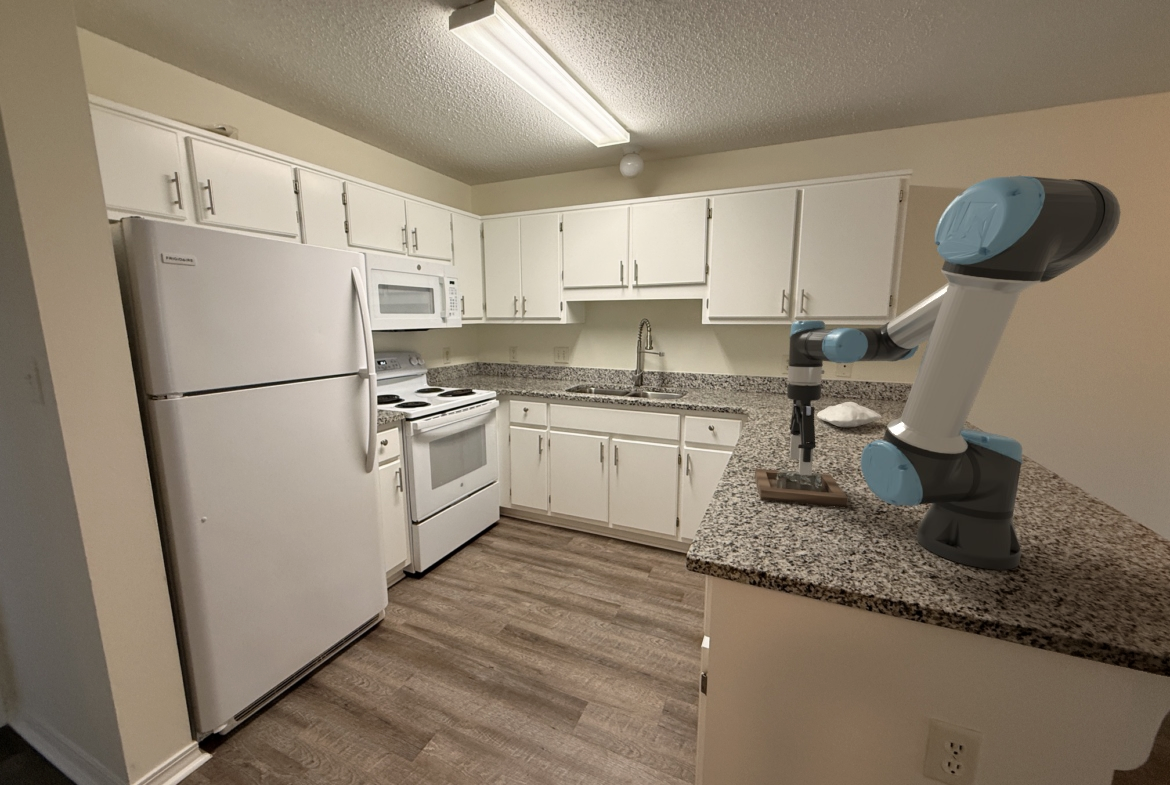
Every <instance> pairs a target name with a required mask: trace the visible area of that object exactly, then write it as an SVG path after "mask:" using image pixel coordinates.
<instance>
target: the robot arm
mask: <svg viewBox="0 0 1170 785" xmlns="http://www.w3.org/2000/svg"><path fill="white" fill-rule="evenodd" d="M1120 218H1121V205H1120V203H1119V200H1118V197H1117V196H1116V195H1115V194H1114V193H1113V191H1112V190H1110V189H1109V188H1107V186H1105V185H1103V184H1101V183H1099V182H1096V181H1091V180H1088V179H1079V178H1077V179H1076V178H1075V179H1073V178H1070V179H1066V178H1065V179H1063V178H1052V177H1043V176H1041V177H1038V176H1031V175H1030V176H1029V175H1028V176H1026V175H1016V176H1014V175H1013V176H998V177H997V176H996V177H991V178H988V179H987V178H986V179H984V180H981V181H978V182H976V183H974V184H973V185H971V186H969V187H968V188H967V189H966V190H964V191H963V192H961V193H960V194H958V195H956V197H955V198H954V199H953V200H952V201H951V202H949V204H948V205H947V207H946V208H945V210H944V211H943V212H942V214H941V216H940V218H939V220H938V221H937V225H936V228H935V232H934V244H935V245H937V248H936V250H937V253H938V254H939V256H940V257H942V258H943V259H944V263H943V265H942V268H941V271H940V272H941V274H942V275H943V276H944V278H945V279H946V280H947V282H946V283H945V284H944V285H943V286H941V287H939V288H938V289H936V290H934V292H931V294H929V295H927V296H926V297H925V298H923V299H921V300H920V301H918V302H917V303H915V304H914V305H912V306H911V307H910V308H908V309H906V310H905V311H903V312H901V314H900V315H898V316H896V317H895V318H893V319H891V320H890V321H888V322H886V323H885V324H884V325H881V326H879V327H862V328H861V327H852V328H851V327H838V328H837V327H833V328H826V323H825V321H823V320H819V319H817V320H795V321H793V322H792V324H791V325H790V326H791V327H790V335H789V337H788V338H789V348H788V349H789V353H788V357H789V358H788V362H789V363H788V368H787V369H788V370H787V381H788V382H789V383H788V385H787V394H786V395H787V398H788V399H790V400H792V410H791V411H792V412H791V418H790V424H789V431H790V434H791V435H790V445H789V446H790V447H789V448H790V449H789V460H797V461H798V462H799V463H798V472H799V474H800V475H812V473H813V472H812V470H813V456H814V455H813V454H814V449H815V448H816V446H817V445H816V427H815V411H816V409H815V406H812V403H811V402H813V401H819V400H821V396H822V386H821V384H820V383H821V382H822V377H823V376H822V375H824V374H825V372H826V371H825V370H824V369H823V364H824V363H823V362H830V363H836V364H851V363H855V362H898V361H905V360H908V359H911V358H912V357H913V356H914V355H915V353H916V352H917V351H918V349H919V346H920V345H921V344H924V343H925V342H927V343H926V347H925V349H924V352H923V356H922V359H921V361H920V364H919V367H918V369H917V373H916V375H915V378H914V380H913V383H912V385H911V386H912V387H911V388H910V392H909V394H908V397H907V400H906V402H905V406H904V408H903V411H902V413H901V417H899V418H895V419H893V420H890V422H888V423H887V426H886V429H885V431H884V435H883V437H882V440H881V439H876V440H873V441H872V442H870V443H868V444H866V445H865V447H864V448H863V450H862V452H861V456H860V467H861V473H862V476H863V477H864V481H865V483H866V485H867V486H868V488H869V489H870V491H871V492H872V493H873V495H875V496H876V498H878V499H879V500H881V501H883V502H884V503H886V504H889V505H893V506H908V507H914V506H918V505H926V504H927V505H928V504H930V506H929V508H928V509H927V511H926V513H925V515H924V516H923V518H922V520H921V522H920V523H919V524H918V527H917V534H916V539H917V542H918V543H919V544H920V546H922V547H924V548H925V549H926V550H928V551H929V552H932V553H933V554H935V555H938V556H939V557H942V558H945V559H947V560H949V561H952V562H955V563H959V564H962V565H966V566H971V567H974V568H980V569H986V570H987V569H988V570H998V571H999V570H1002V571H1003V570H1005V571H1006V570H1011V569H1015V568H1017V567H1019V565H1020V562H1021V557H1022V549H1021V546H1020V542H1019V540H1018V539H1019V538H1018V535H1017V533H1016V532H1017V531H1016V527H1015V525H1014V521H1013V520H1014V511H1015V506H1016V498H1017V494H1018V493H1017V492H1018V486H1019V481H1020V480H1019V479H1020V474H1021V466H1022V465H1023V464H1024V463H1023V460H1022V458H1023V446H1022V444H1021V443H1020V442H1019V441H1018V440H1016V439H1014V438H1012V437H1008V436H1004V435H1000V434H996V433H992V432H987V431H981V430H976V429H970V428H964V427H965V424H966V422H967V420H968V418H969V415H970V412H971V411H972V408H973V405H974V403H975V401H976V398H977V397H978V393H979V392H980V389H981V387H982V384H983V382H984V380H985V377H986V375H987V372H988V370H989V368H990V366H991V363H992V361H993V359H994V356H995V354H996V352H997V349H998V347H999V344H1000V343H1001V342H1000V341H1001V340H1002V338H1003V335H1004V333H1005V330H1006V328H1007V326H1008V323H1009V321H1010V318H1011V316H1012V315H1013V311H1014V309H1015V306H1016V304H1017V302H1018V300H1019V297H1020V294H1021V293H1022V292H1024V291H1026V290H1027V289H1029V288H1031V287H1034V286H1035V285H1037V284H1040V283H1041V284H1042V283H1047V282H1049V281H1051V280H1053V279H1055V278H1057V277H1058V276H1061V275H1062V274H1064V273H1066V272H1068V271H1070V270H1072V269H1073V268H1075V267H1077V266H1078V265H1080V264H1082V263H1083V262H1085V261H1086V260H1088V259H1090V258H1091V257H1093V256H1095V254H1097V253H1098V252H1099V251H1100V250H1101V249H1102V248H1104V246H1106V245H1107V244H1108V242H1109V241H1110V239H1112V237H1113V236H1114V234H1115V232H1116V231H1117V228H1118V226H1119V224H1120V220H1121V219H1120Z"/></svg>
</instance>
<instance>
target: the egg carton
mask: <svg viewBox="0 0 1170 785" xmlns="http://www.w3.org/2000/svg"><path fill="white" fill-rule="evenodd" d="M790 471H791V470H785V469H781V470H780V471H779V472H777V476H776V479H777V487H776V488H781V489H793V490H804V491H815V492H821V486H822V481H821V475H820V474H821V473H818V474H812V475H800V474H799V473H798V472H799V471H793V472H790Z"/></svg>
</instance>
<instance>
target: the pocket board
mask: <svg viewBox="0 0 1170 785" xmlns="http://www.w3.org/2000/svg"><path fill="white" fill-rule="evenodd" d="M779 471H781V470H778V469H767V468H765V469H764V468H754V480H755V483H756V487H757V491H758V496H759V500H760V501H769V502H779V503H787V504H788V503H789V504H798V503H799V504H800V505H809V504H810V505H811V506H819V505H824V506H823V507H829V506H835V507H834V508H840V507H845V508H844V509H847V508H848V500H849V498H848V496H847V495H846V493H845V492H844V491H843V488H841V487H840V485H839V484H838V482H837V481H836V480H835V478H834V477H833V476H832V474H828V473H815V472H812V474H820V475H821V481H822V486H821V492H815V491H804V490H793V489H781V488H776V487H777V479H776V476H777V472H779ZM789 471H790V472H794V471H791V470H789ZM797 472H798V473H799V471H797ZM810 505H809V506H810Z"/></svg>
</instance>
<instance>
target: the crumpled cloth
mask: <svg viewBox="0 0 1170 785" xmlns="http://www.w3.org/2000/svg"><path fill="white" fill-rule="evenodd" d="M816 417H818V418H819V419H820V420H822V421H824V422H828V423H829V424H831V425H834V426H837V427H840V428H854V427H860V426H862V425H867V424H871V423H872V422H874V423H875V422H877V421H879V420H881V419H882V415H881V414H880V413H877V412H876V411H875V410H873V409H870V408H868V407H865V406H863V405H859V404H858V403H857V402H853V401H845V402H842V403H839V404H837V405H829V406H827V407H826V408H825V409H822V410H820V411H818V412H817V416H816Z"/></svg>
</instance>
